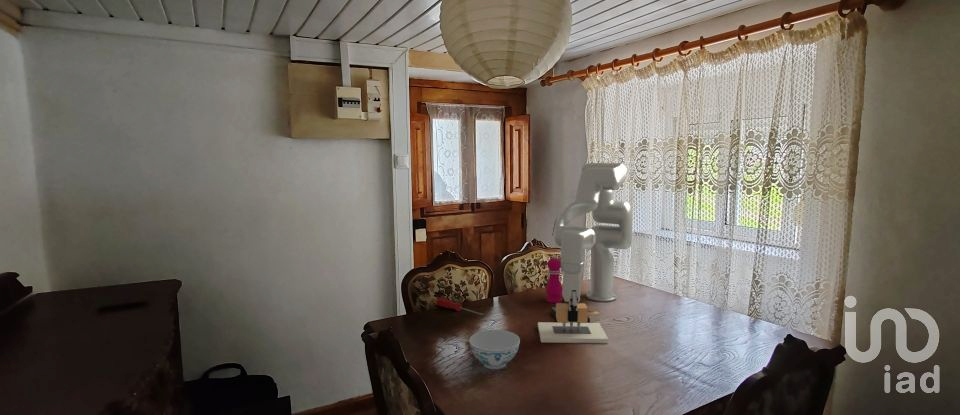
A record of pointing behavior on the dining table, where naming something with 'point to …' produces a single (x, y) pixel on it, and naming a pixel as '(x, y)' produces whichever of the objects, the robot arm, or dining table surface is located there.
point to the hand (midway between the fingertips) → (571, 317)
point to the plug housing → (581, 307)
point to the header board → (571, 332)
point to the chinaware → (494, 347)
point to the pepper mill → (554, 281)
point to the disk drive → (566, 322)
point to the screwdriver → (452, 305)
